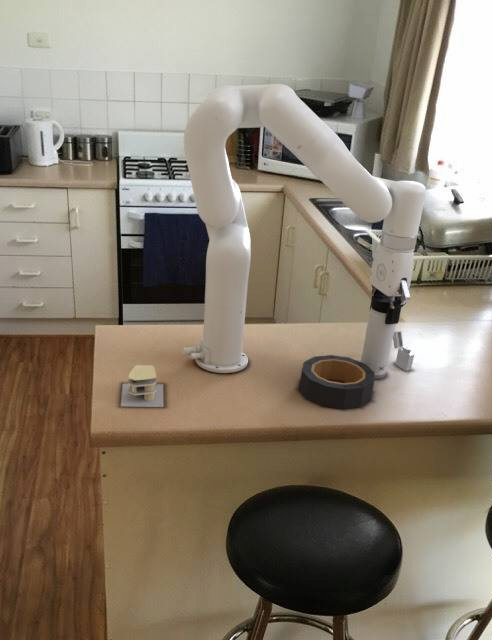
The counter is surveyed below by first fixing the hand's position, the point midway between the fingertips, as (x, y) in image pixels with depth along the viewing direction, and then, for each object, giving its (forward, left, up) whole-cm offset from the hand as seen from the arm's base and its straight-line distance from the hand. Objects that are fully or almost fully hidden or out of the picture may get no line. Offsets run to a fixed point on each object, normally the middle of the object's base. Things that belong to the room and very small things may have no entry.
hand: (383, 316), depth 159 cm
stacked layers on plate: (-56, +1, -15) cm, 58 cm away
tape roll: (-13, -6, -15) cm, 20 cm away
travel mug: (0, 0, -15) cm, 15 cm away
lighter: (+9, +3, -15) cm, 18 cm away
